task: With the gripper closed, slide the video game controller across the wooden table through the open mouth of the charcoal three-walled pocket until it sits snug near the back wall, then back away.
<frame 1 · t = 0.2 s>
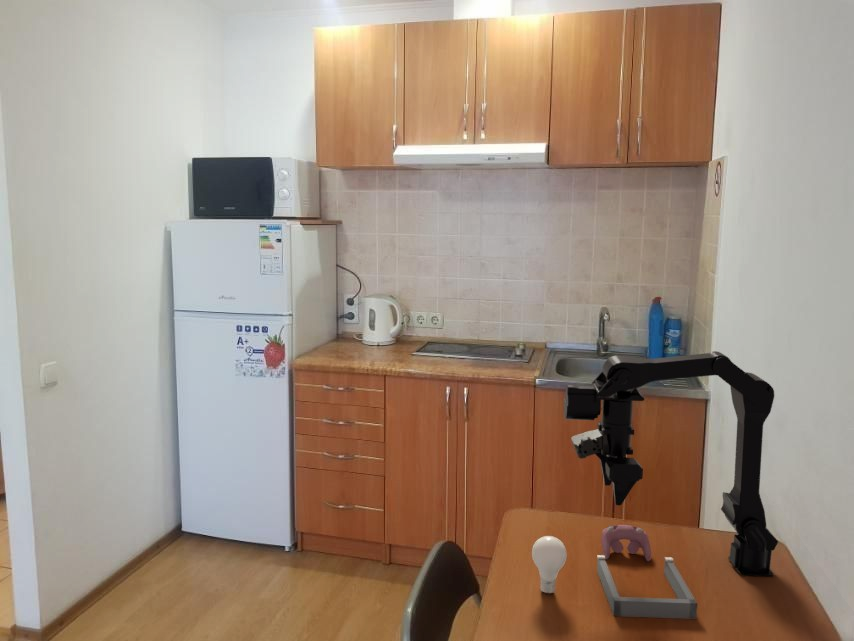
hand: (612, 494, 134), 14 cm above the table, tool pointing down, fingers open, 9 cm apart
video game controller: (625, 555, 139), on the table
lightbulb: (547, 593, 125), on the table
pocket: (642, 590, 126), on the table
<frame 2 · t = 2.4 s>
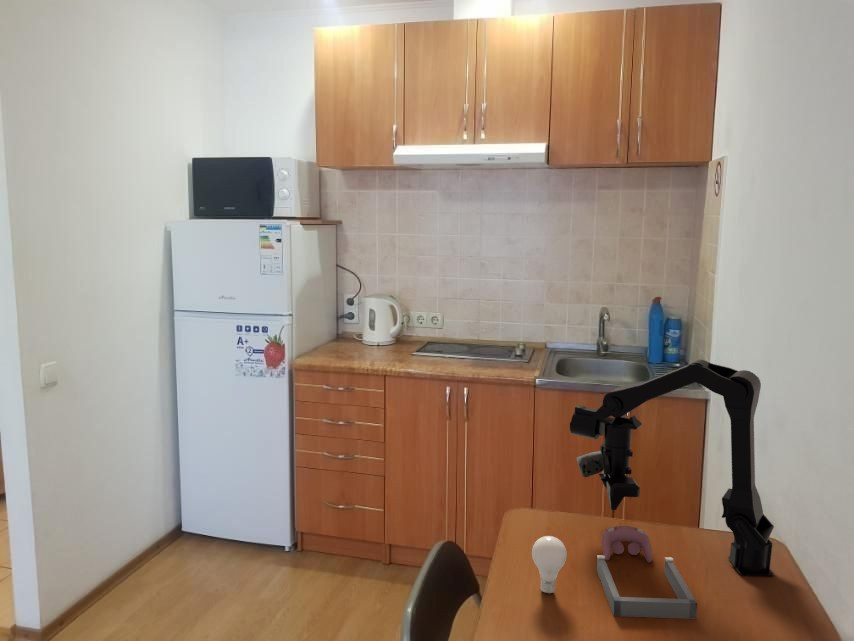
hand: (613, 509, 150), 4 cm above the table, tool pointing down, fingers closed
nothing on the table moved.
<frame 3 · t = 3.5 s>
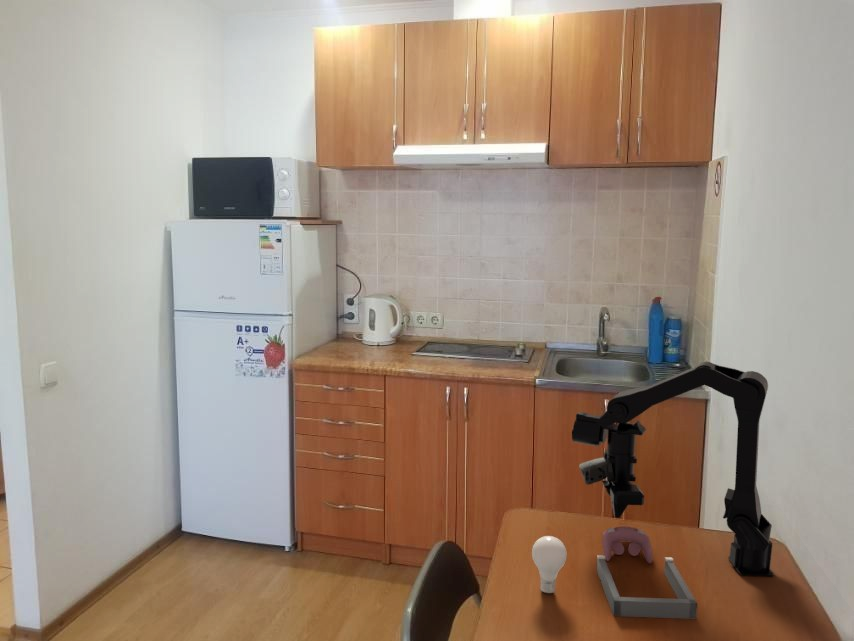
hand: (617, 517, 147), 4 cm above the table, tool pointing down, fingers closed
nothing on the table moved.
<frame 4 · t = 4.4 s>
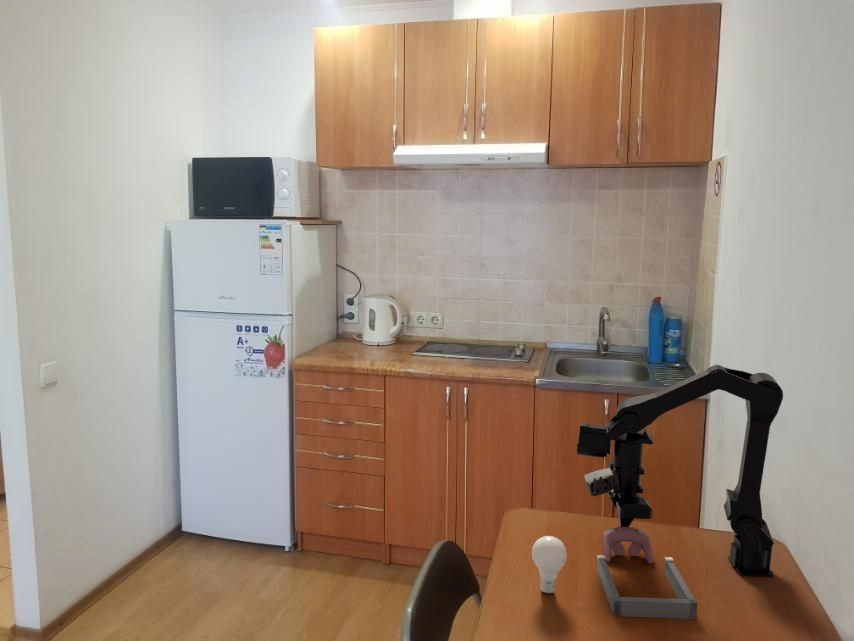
hand: (623, 530, 141), 4 cm above the table, tool pointing down, fingers closed
video game controller: (626, 557, 138), on the table, touching gripper
everything else where it was.
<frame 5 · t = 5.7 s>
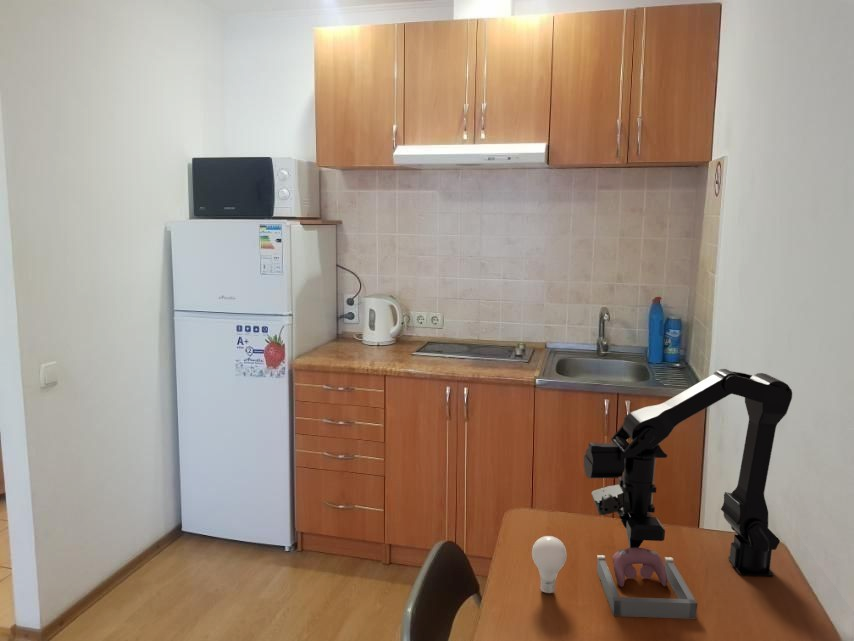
hand: (632, 550, 133), 4 cm above the table, tool pointing down, fingers closed
video game controller: (638, 581, 130), on the table, touching gripper
everything else where it was.
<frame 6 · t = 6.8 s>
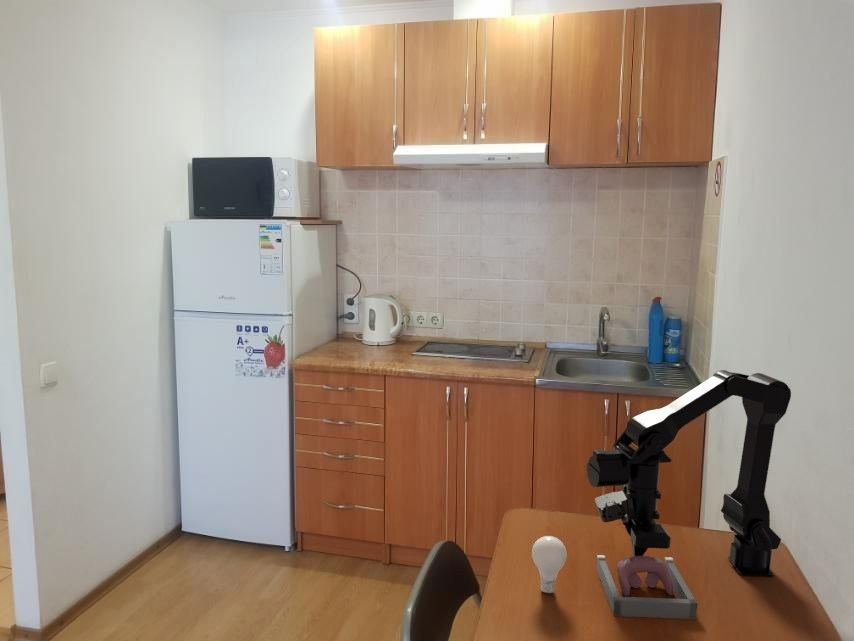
hand: (637, 558, 130), 4 cm above the table, tool pointing down, fingers closed
video game controller: (643, 590, 127), on the table
everything else where it was.
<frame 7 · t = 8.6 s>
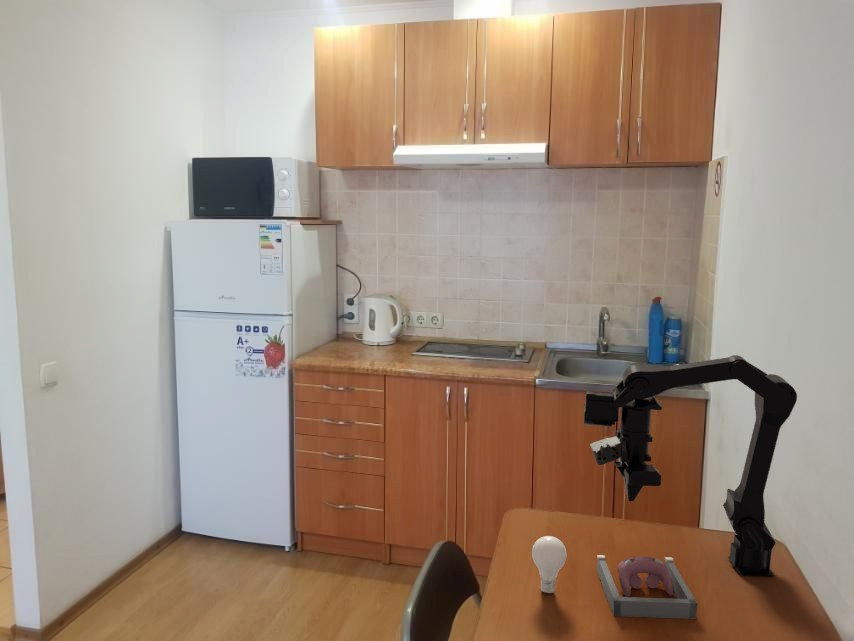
hand: (630, 500, 137), 12 cm above the table, tool pointing down, fingers closed
nothing on the table moved.
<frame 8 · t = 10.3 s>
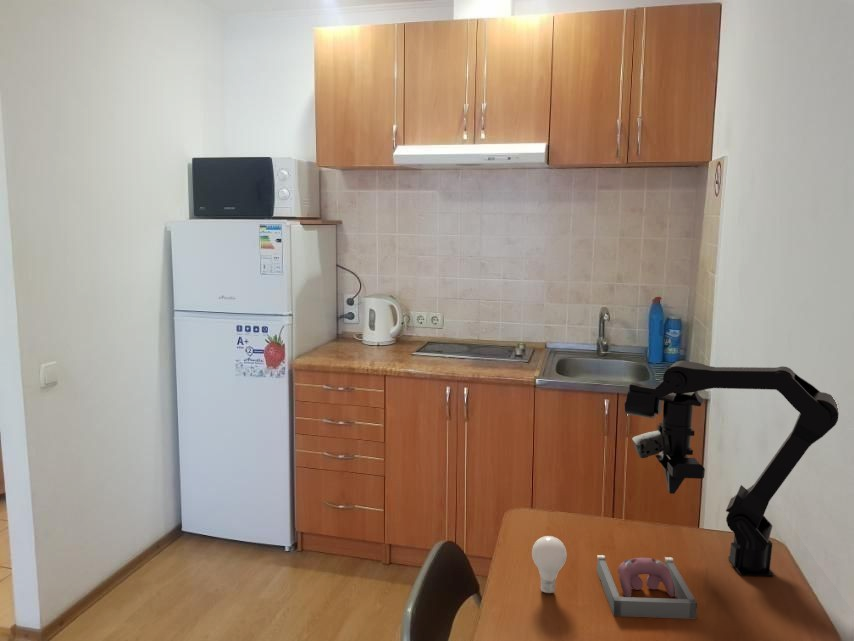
hand: (671, 492, 141), 12 cm above the table, tool pointing down, fingers closed
nothing on the table moved.
at the end: video game controller inside the target area on the pocket (1.0 cm from its centre), point 0.0 cm above the pocket's base; video game controller tilted 0°; video game controller moved 13.4 cm from its start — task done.
